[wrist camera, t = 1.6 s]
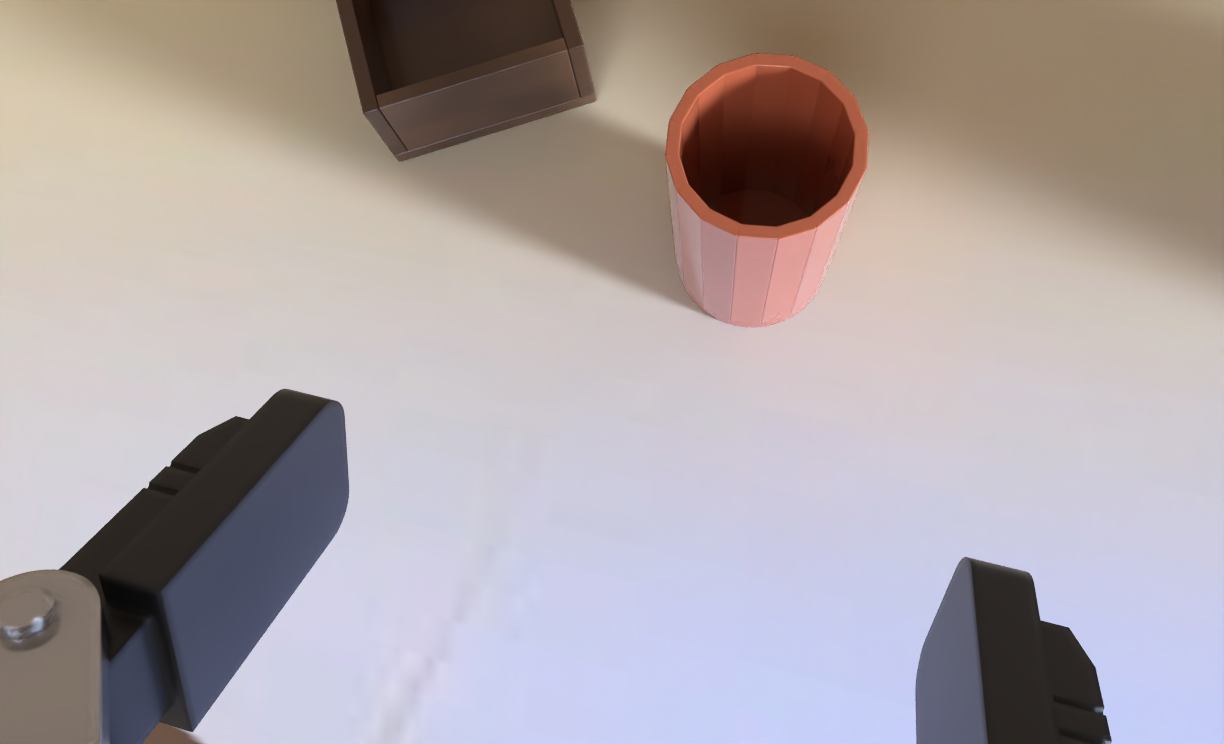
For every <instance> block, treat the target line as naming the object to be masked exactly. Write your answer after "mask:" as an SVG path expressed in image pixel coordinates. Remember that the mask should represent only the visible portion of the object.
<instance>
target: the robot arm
mask: <svg viewBox="0 0 1224 744" xmlns="http://www.w3.org/2000/svg"><path fill="white" fill-rule="evenodd" d="M348 498H349V479H348V463H347V447H346V431H345V416H344V410H343V407H342V405H341V404H340V403H339V402H337V401H334V400H330V399H326V398H322V397H318V396H314V395H310V394H306V393H302V392H297V391H293V390H289V389H282V390H280V391H278V392H276V393H275V394H274V395H273V396H272V397H271V398H270V399H269V400H268V401H267V402H266V403H265V404H264V405H263V406H262V407H261V408H260V409H259V410H258V411H257V412H256V413H255V414H254V415H253V416H252V417H251V418H250V419H245V418H241V417H237V416H235V417H233V418H231V419H229V420H227V421H226V422H224V423H222V424H220V425H218V426H216V427H214V428H212V429H210V430H208V431H206V432H204V433H202V434H200V435H198V436H197V437H196V438H195V439H194V440H193V441H192V442H191V443H190V444H189V445H188V446H187V447H186V448H185V449H184V450H182V451H181V452H180V453H179V454H178V455H177V456H176V457H175V458H174V459H173V460H172V461H171V465H170V467H167V466H166V467H165V468H164V469H163V470H162V471H161V472H160V473H159V474H158V475H157V476H156V477H155V478H154V479H152V480H151V481H150V482H149V487H148V488H147V489H146V488H143V489H142V490H141V491H140V492H139V493H138V494H137V495H136V496H135V497H134V498H133V499H132V500H131V501H130V502H129V503H128V504H127V505H126V506H125V507H124V508H122V509H121V510H120V511H119V512H118V513H117V514H116V515H115V516H114V517H113V518H112V519H111V520H110V521H109V522H108V523H107V524H106V525H105V526H104V527H103V528H102V529H101V530H100V531H99V532H98V533H97V534H96V535H95V536H94V537H92V538H91V539H90V540H89V541H88V542H87V543H86V544H85V545H84V546H83V547H82V548H81V549H80V550H79V551H78V552H77V553H76V554H75V555H74V556H73V557H72V558H71V559H70V560H69V561H68V562H67V563H66V564H65V565H63V566H62V567H61V568H60V569H59V570H38V571H31V572H26V573H22V574H18V575H15V576H12V577H9V578H6V579H4V580H2V581H0V744H142V743H143V742H144V740H145V739H146V738H147V736H148V735H149V734H150V733H151V732H152V730H153V729H154V728H155V726H156V725H157V724H158V722H161V723H164V724H168V725H171V726H174V727H177V728H181V729H184V730H187V731H190V732H193V731H194V729H195V728H196V727H197V725H198V724H199V723H200V721H201V720H202V718H203V717H204V716H205V714H206V713H207V712H208V710H209V709H210V707H211V706H212V705H213V703H214V702H215V700H216V699H217V698H218V696H219V695H220V694H221V692H222V691H223V689H224V688H225V687H226V685H227V684H228V683H229V681H230V680H231V678H232V677H233V676H234V674H235V673H236V671H237V670H238V669H239V667H240V666H241V665H242V663H243V662H244V660H245V659H246V658H247V656H248V655H249V653H250V652H251V651H252V649H253V648H254V647H255V645H256V644H257V642H258V641H259V640H260V638H261V637H262V636H263V634H264V633H265V631H266V630H267V629H268V627H269V626H270V624H271V623H272V622H273V620H274V619H275V618H276V616H277V615H278V613H279V612H280V611H281V609H282V608H283V607H284V605H285V604H286V602H287V601H288V600H289V598H290V597H291V595H292V594H293V593H294V591H295V590H296V589H297V587H298V586H299V584H300V583H301V582H302V580H303V579H304V578H305V576H306V575H307V573H308V572H309V571H310V569H311V568H312V566H313V565H314V564H315V562H316V561H317V560H318V558H319V557H320V555H321V554H322V553H323V551H324V550H325V548H326V547H327V546H328V544H329V543H330V542H331V540H332V539H333V537H334V536H335V534H336V533H337V531H338V529H339V527H340V525H341V523H342V520H343V518H344V515H345V512H346V508H347V504H348ZM1103 709H1104V705H1103V700H1102V696H1101V691H1100V686H1099V682H1098V677H1097V673H1096V668H1095V666H1094V665H1093V663H1092V662H1091V660H1090V659H1089V657H1088V656H1087V654H1086V653H1085V651H1084V650H1083V648H1082V647H1081V645H1080V644H1079V642H1078V641H1077V639H1076V638H1075V636H1074V635H1073V633H1072V632H1071V630H1070V629H1069V628H1068V627H1064V626H1060V625H1056V624H1052V623H1048V622H1044V621H1040V616H1039V610H1038V604H1037V598H1036V593H1035V587H1034V582H1033V578H1032V576H1031V575H1030V573H1028V572H1025V571H1021V570H1017V569H1013V568H1009V567H1005V566H1000V565H996V564H992V563H988V562H984V561H980V560H976V559H972V558H968V557H964V558H963V559H962V560H961V561H960V562H959V564H958V566H957V568H956V570H955V572H954V574H953V577H952V579H951V581H950V584H949V586H948V588H947V591H946V593H945V595H944V598H943V600H942V602H941V605H940V607H939V609H938V611H937V614H936V616H935V618H934V621H933V623H932V625H931V628H930V630H929V632H928V635H927V637H926V639H925V642H924V645H923V648H922V652H921V655H920V660H919V665H918V670H917V678H916V737H917V744H1111V736H1110V732H1109V727H1108V723H1107V718H1106V716H1105V715H1103Z"/></svg>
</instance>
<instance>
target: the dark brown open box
mask: <svg viewBox="0 0 1224 744" xmlns="http://www.w3.org/2000/svg"><path fill="white" fill-rule="evenodd" d="M336 2H337V7H338V11H339V15H340V19H341V23H342V27H343V31H344V36H345V40H346V44H347V48H348V52H349V56H350V61H351V65H352V69H353V73H354V77H355V81H356V85H357V90H358V94H359V98H360V102H361V106H362V110H363V114H364V115H365V116H366V118H367V119H368V120H369V122H370V123H371V125H372V126H373V127H374V129H375V130H376V131H377V133H378V134H379V135H380V137H381V138H382V139H383V141H384V142H385V144H386V145H387V146H388V148H389V149H390V150H391V152H392V153H393V154H394V156H395V157H396V158H397V160H398V161H403V160H407V159H410V158H413V157H416V156H420V155H423V154H426V153H429V152H433V151H436V150H439V149H442V148H446V147H449V146H452V145H455V144H459V143H462V142H465V141H468V140H472V139H475V138H478V137H481V136H485V135H488V134H491V133H494V132H498V131H501V130H504V129H507V128H510V127H514V126H517V125H520V124H523V123H527V122H530V121H533V120H536V119H540V118H543V117H546V116H549V115H553V114H556V113H559V112H562V111H566V110H569V109H572V108H575V107H579V106H582V105H585V104H588V103H592V102H595V101H596V95H595V91H594V86H593V82H592V78H591V73H590V69H589V65H588V61H587V56H586V52H585V48H584V44H583V40H582V37H581V34H580V31H579V27H578V24H577V21H576V18H575V14H574V11H573V8H572V5H571V2H570V0H336Z"/></svg>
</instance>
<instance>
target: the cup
mask: <svg viewBox="0 0 1224 744" xmlns="http://www.w3.org/2000/svg"><path fill="white" fill-rule="evenodd" d="M868 141H869V133H868V129H867V126H866V123H865V121H864V118H863V115H862V113H861V110H860V108H859V105H858V102H857V100H856V98H855V97H854V96H853V95H852V94H851V93H850V91H849V90H848V89H847V88H846V87H845V86H844V85H843V84H842V83H841V82H840V81H839V80H838V79H837V78H836V77H835V76H834V75H833V74H832V73H831V72H829V71H828V70H826V69H824V68H822V67H819V66H817V65H815V64H813V63H810V62H808V61H806V60H803V59H801V58H799V57H797V56H793V55H779V54H760V53H756V54H751V55H748V56H744V57H741V58H738V59H735V60H731V61H728V62H725V63H722V64H719V65H717V66H716V67H714V68H713V69H712V70H710V71H709V72H708V73H707V74H705V75H704V76H703V77H701V78H700V79H699V80H698V81H696V82H695V83H694V84H692V85H691V86H690V87H689V88H688V89H687V90H686V92H685V94H684V95H683V97H682V99H681V100H680V102H679V104H678V106H677V107H676V109H675V111H674V113H673V114H672V116H671V118H670V121H669V125H668V133H667V142H666V151H665V159H666V169H667V179H668V189H669V198H670V208H671V218H672V227H673V237H674V247H675V257H676V262H677V265H678V270H679V274H680V278H681V280H682V283H683V285H684V287H685V289H686V291H687V292H688V294H689V295H690V297H691V298H692V299H693V301H694V302H695V303H696V304H697V305H698V306H699V307H700V308H701V309H702V310H704V311H705V312H706V313H708V314H709V315H711V316H712V317H714V318H716V319H718V320H720V321H723V322H725V323H728V324H732V325H735V326H742V327H762V326H768V325H772V324H776V323H779V322H781V321H784V320H786V319H788V318H790V317H792V316H793V315H795V314H796V313H798V312H799V311H801V310H802V309H803V308H804V307H805V306H806V305H807V304H808V303H809V302H810V301H811V300H812V298H813V297H814V296H815V294H816V293H817V291H818V289H819V288H820V286H821V283H822V281H823V279H824V277H825V275H826V273H827V271H828V269H829V266H830V264H831V261H832V258H833V256H834V253H835V250H836V248H837V245H838V243H839V240H840V237H841V235H842V232H843V230H844V227H845V224H846V222H847V219H848V216H849V214H850V211H851V209H852V206H853V203H854V201H855V198H856V196H857V193H858V190H859V188H860V185H861V183H862V180H863V177H864V175H865V172H866V169H867V156H868Z"/></svg>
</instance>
